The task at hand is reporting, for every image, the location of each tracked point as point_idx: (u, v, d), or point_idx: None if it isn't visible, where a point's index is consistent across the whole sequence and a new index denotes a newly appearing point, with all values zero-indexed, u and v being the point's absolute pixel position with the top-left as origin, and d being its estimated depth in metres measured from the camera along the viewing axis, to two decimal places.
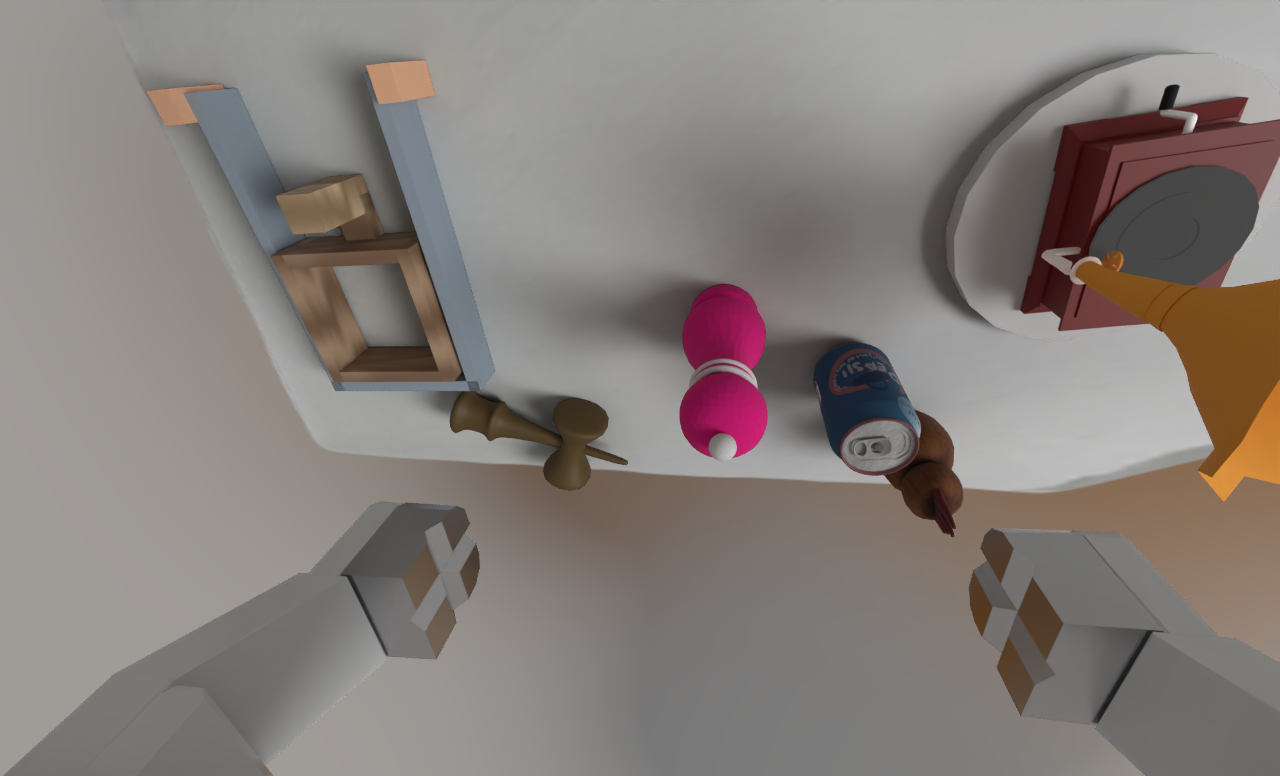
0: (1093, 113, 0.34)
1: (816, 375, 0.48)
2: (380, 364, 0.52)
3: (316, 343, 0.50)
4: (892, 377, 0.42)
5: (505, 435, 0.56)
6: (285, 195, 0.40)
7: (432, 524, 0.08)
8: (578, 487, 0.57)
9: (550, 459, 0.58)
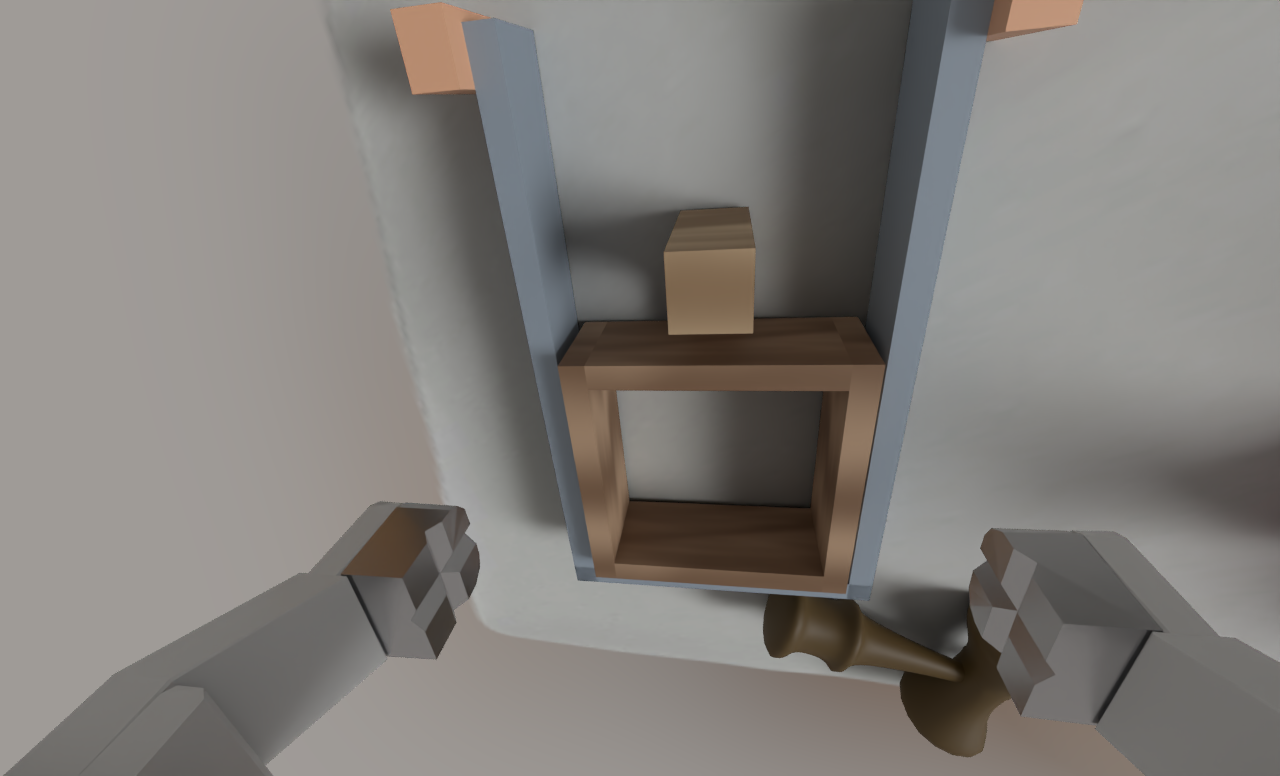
0: None
1: None
2: (684, 547, 0.29)
3: (589, 517, 0.26)
4: None
5: (865, 664, 0.32)
6: (688, 251, 0.17)
7: (432, 524, 0.08)
8: (981, 750, 0.33)
9: (921, 694, 0.34)
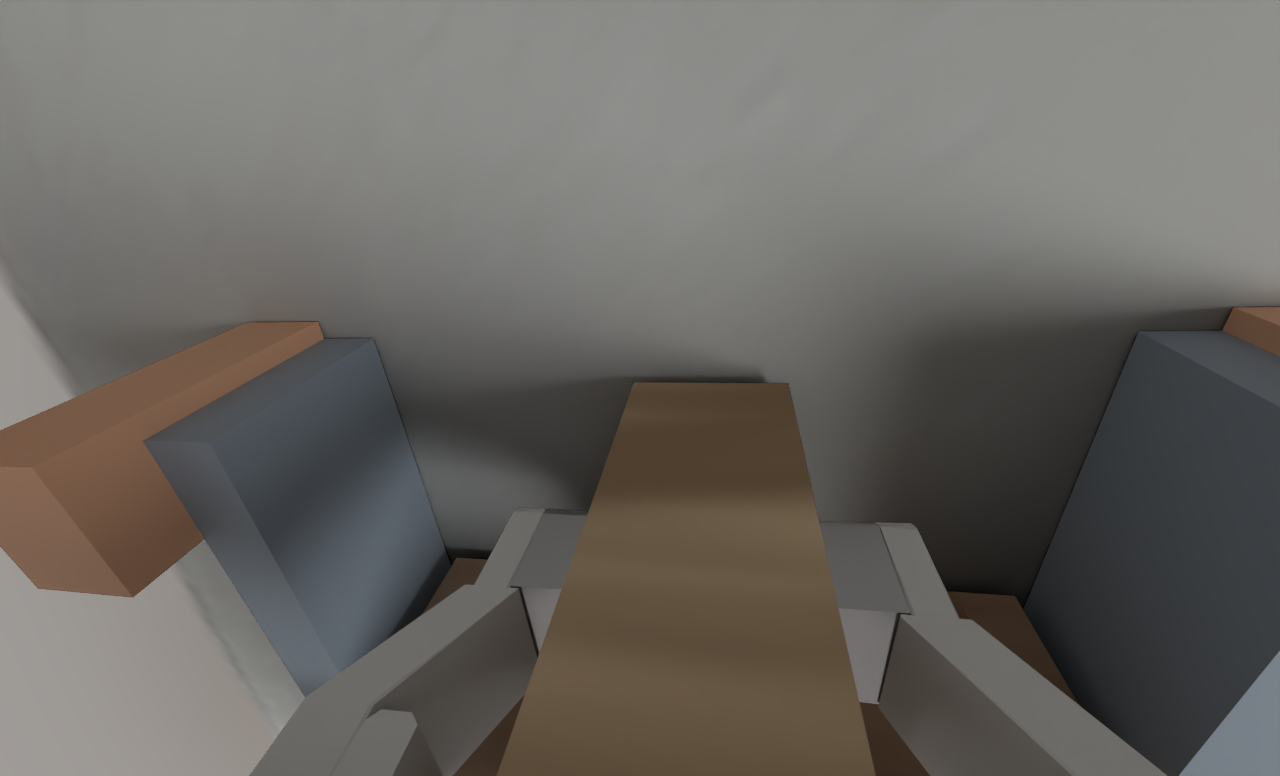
0: None
1: None
2: None
3: None
4: None
5: None
6: None
7: None
8: None
9: None
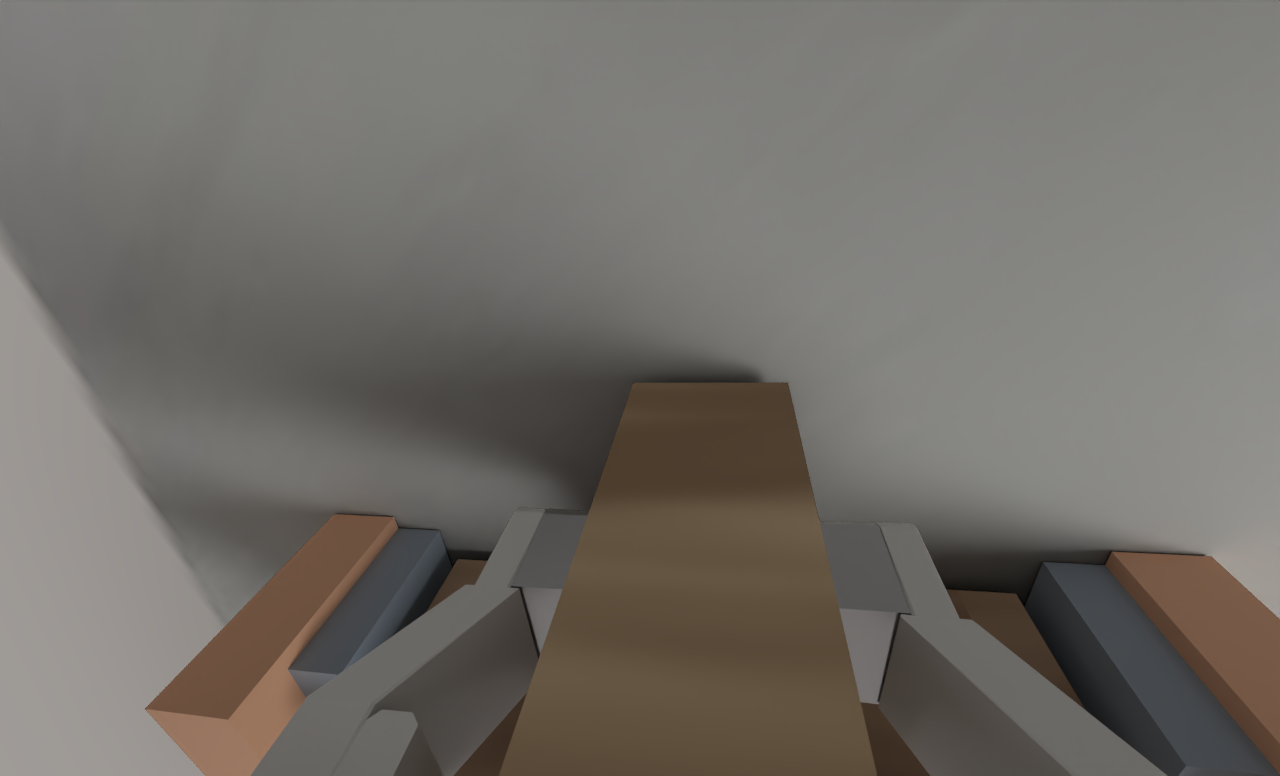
0: None
1: None
2: None
3: None
4: None
5: None
6: None
7: None
8: None
9: None
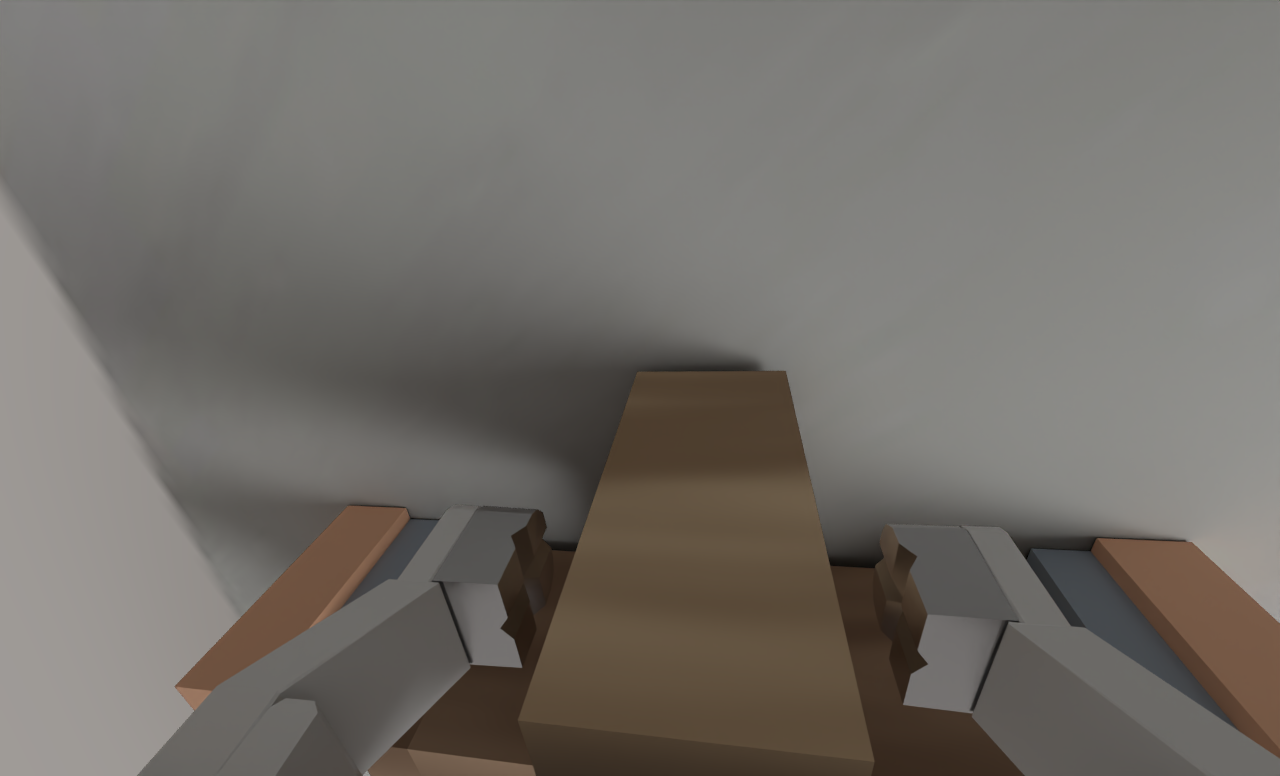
0: None
1: None
2: None
3: None
4: None
5: None
6: (608, 720, 0.05)
7: (517, 529, 0.08)
8: None
9: None
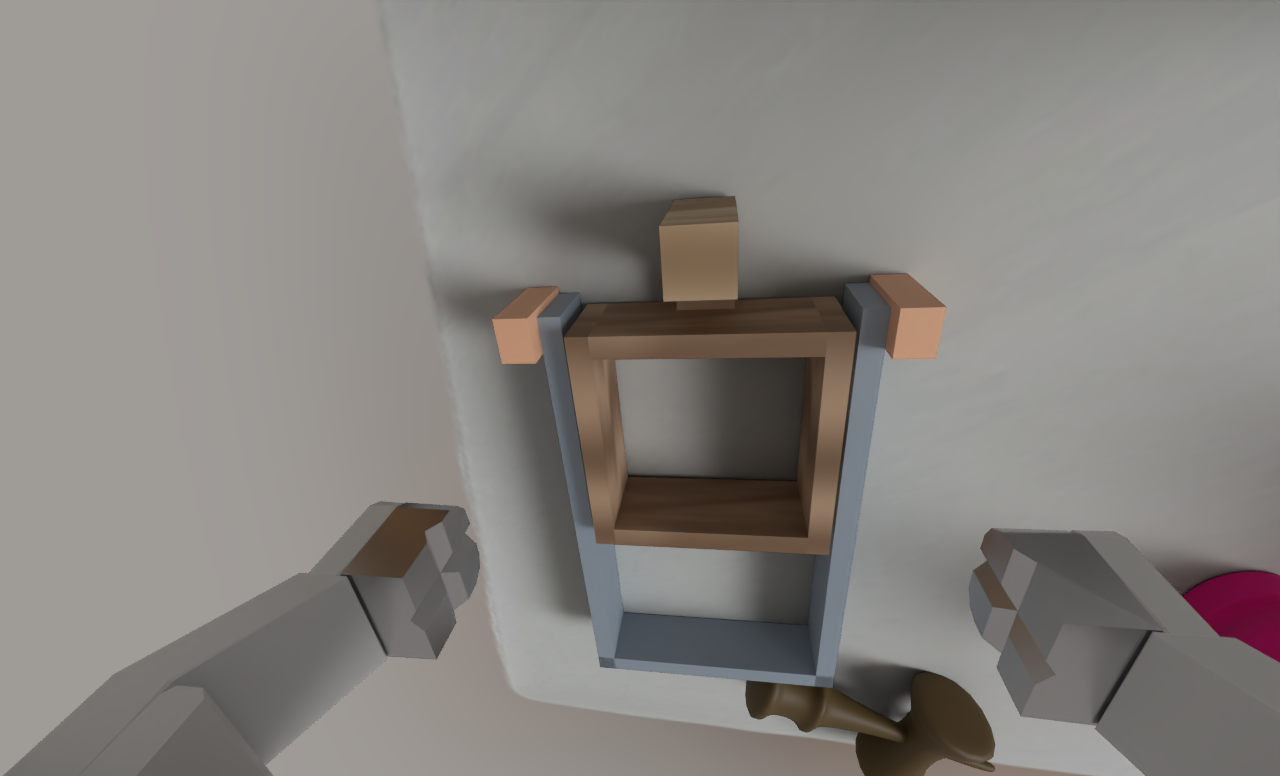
0: None
1: None
2: (679, 515, 0.31)
3: (590, 483, 0.29)
4: None
5: (828, 726, 0.39)
6: (680, 225, 0.19)
7: (432, 525, 0.08)
8: None
9: (872, 751, 0.41)
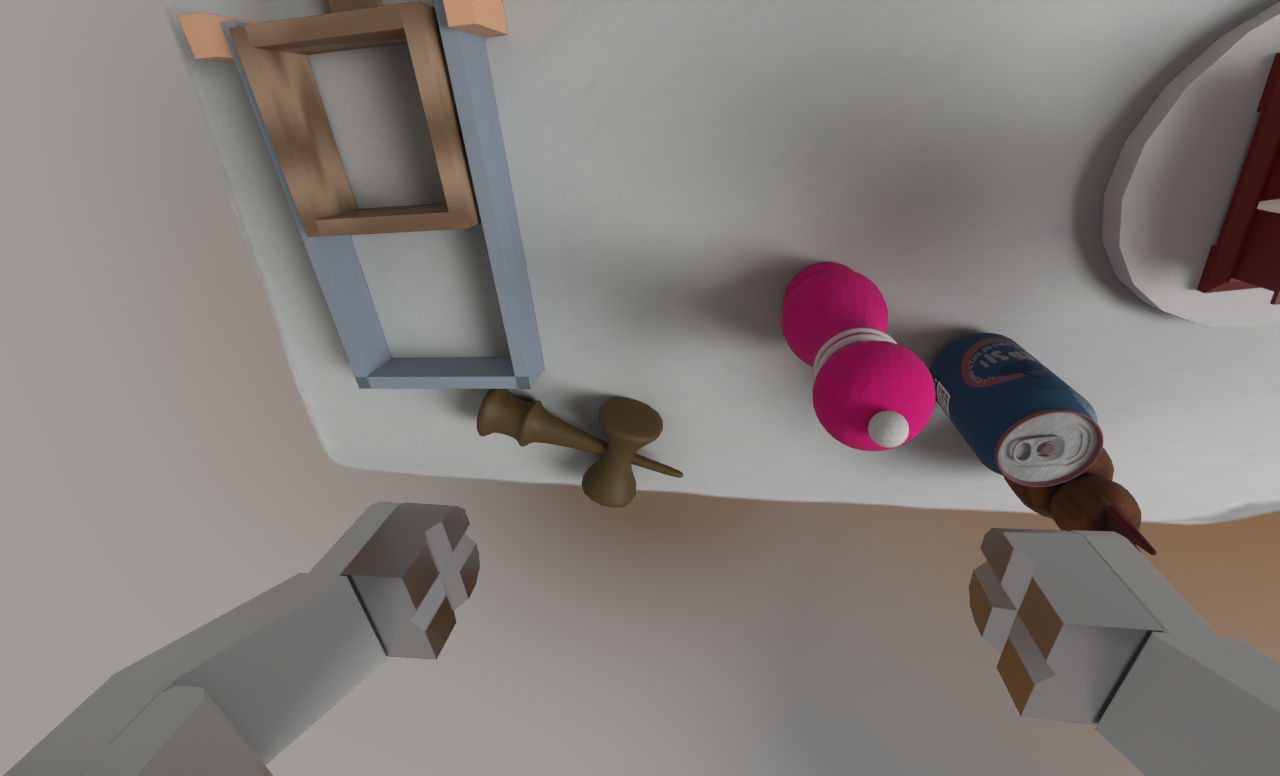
0: None
1: (935, 372, 0.40)
2: (371, 214, 0.39)
3: (286, 174, 0.37)
4: None
5: (540, 439, 0.47)
6: None
7: (432, 524, 0.08)
8: (623, 504, 0.48)
9: (590, 470, 0.49)
